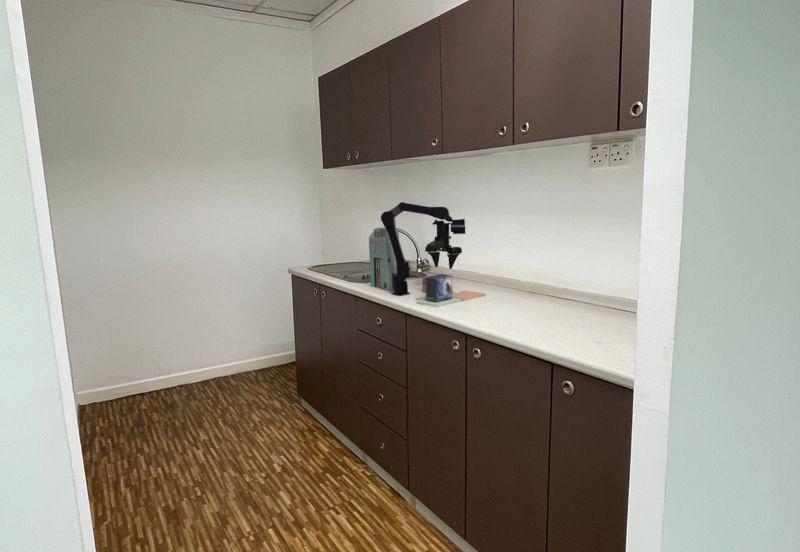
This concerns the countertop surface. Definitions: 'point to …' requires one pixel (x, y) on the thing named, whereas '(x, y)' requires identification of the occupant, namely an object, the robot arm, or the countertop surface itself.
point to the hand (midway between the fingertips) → (443, 268)
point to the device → (382, 259)
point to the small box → (438, 288)
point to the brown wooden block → (425, 285)
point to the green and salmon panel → (454, 298)
